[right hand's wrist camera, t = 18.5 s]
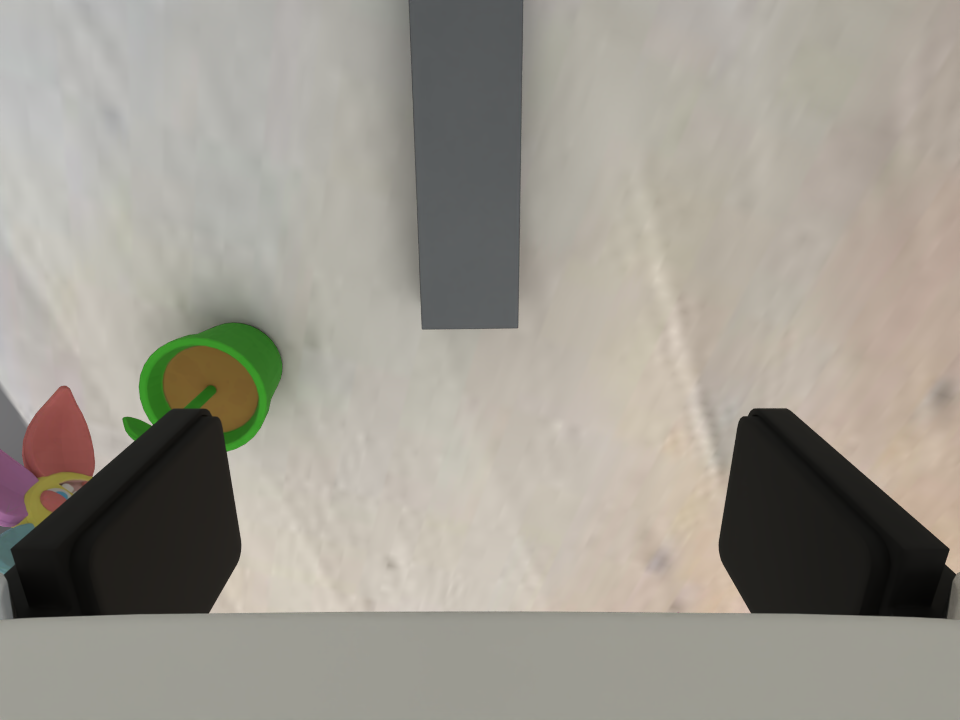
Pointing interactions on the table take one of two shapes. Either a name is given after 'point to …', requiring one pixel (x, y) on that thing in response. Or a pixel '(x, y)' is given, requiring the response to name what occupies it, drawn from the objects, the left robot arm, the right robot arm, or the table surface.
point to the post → (467, 159)
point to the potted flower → (163, 386)
